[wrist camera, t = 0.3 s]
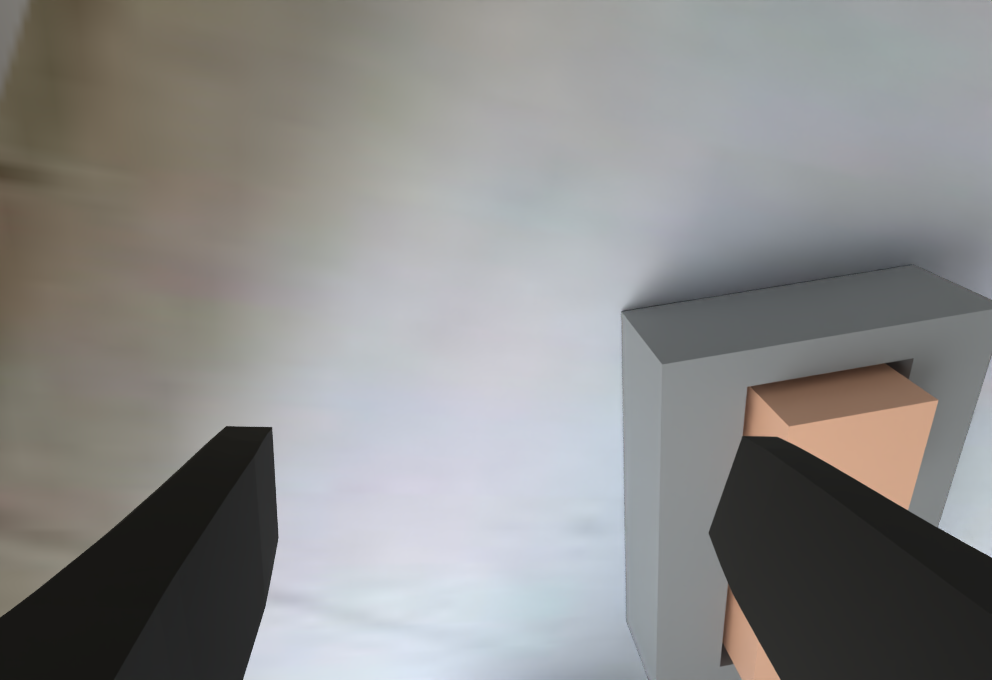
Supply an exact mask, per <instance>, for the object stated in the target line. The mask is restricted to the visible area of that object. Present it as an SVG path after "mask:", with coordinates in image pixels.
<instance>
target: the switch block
mask: <svg viewBox="0 0 992 680" xmlns="http://www.w3.org/2000/svg"><path fill="white" fill-rule="evenodd" d="M621 320H622V382H623V443H624V505H625V567H626V621H627V624H628V626H629V629H630V632H631V634H632V637H633V640H634V642H635V645H636V648H637V651H638V653H639V656H640V659H641V661H642V664H643V667H644V669H645V672H646V675H647V677H648V680H742V679H741V677H740V675H739V673H738V671H737V669H736V667H735V665H734V664H733V662H732V660H731V658H730V656H729V654H728V652H727V650H726V648H725V646H724V644H723V642H722V640H723V630H724V620H725V609H726V599H727V589H728V582H727V579H726V577H725V575H724V572H723V570H722V568H721V565H720V563H719V560H718V557H717V555H716V552H715V549H714V547H713V544H712V541H711V539H710V536H709V530H710V527H711V524H712V521H713V518H714V515H715V513H716V510H717V507H718V504H719V501H720V498H721V496H722V493H723V490H724V487H725V484H726V481H727V479H728V476H729V473H730V470H731V467H732V464H733V462H734V459H735V456H736V453H737V450H738V447H739V444H740V442H741V439H742V436H743V426H744V416H745V405H746V395H747V387H749V386H755V385H761V384H766V383H772V382H778V381H784V380H790V379H796V378H801V377H807V376H813V375H819V374H825V373H831V372H836V371H842V370H848V369H854V368H860V367H865V366H871V365H877V364H883V363H885V364H887V365H888V366H890V367H891V368H893V369H894V370H895V371H897V372H898V373H900V374H901V375H903V376H904V377H906V378H907V379H909V380H910V381H911V382H913V383H914V384H916V385H917V386H919V387H920V388H922V389H923V390H925V391H926V392H927V393H929V394H930V395H932V396H933V397H935V398H936V399H938V404H937V408H936V411H935V415H934V419H933V422H932V426H931V429H930V433H929V437H928V440H927V444H926V447H925V451H924V455H923V458H922V462H921V466H920V469H919V473H918V476H917V480H916V484H915V487H914V491H913V494H912V498H911V502H910V505H909V509H908V511H910V512H912V513H913V514H915V515H917V516H918V517H920V518H922V519H924V520H925V521H927V522H929V523H930V524H932V525H934V526H936V527H937V528H938V525H939V522H940V519H941V515H942V512H943V509H944V506H945V503H946V499H947V496H948V493H949V490H950V487H951V483H952V480H953V477H954V474H955V471H956V467H957V464H958V461H959V458H960V455H961V451H962V448H963V445H964V442H965V439H966V435H967V432H968V429H969V426H970V423H971V419H972V416H973V413H974V410H975V407H976V403H977V400H978V397H979V394H980V391H981V387H982V384H983V381H984V378H985V375H986V371H987V368H988V365H989V362H990V359H991V355H992V300H990V299H988V298H986V297H984V296H982V295H979V294H977V293H975V292H973V291H971V290H968V289H966V288H964V287H962V286H960V285H957V284H955V283H953V282H951V281H949V280H946V279H944V278H942V277H940V276H938V275H935V274H933V273H931V272H929V271H927V270H924V269H922V268H920V267H918V266H916V265H908V266H902V267H896V268H890V269H884V270H877V271H871V272H865V273H859V274H852V275H846V276H840V277H834V278H828V279H821V280H815V281H809V282H803V283H796V284H790V285H784V286H778V287H772V288H765V289H759V290H753V291H747V292H740V293H734V294H728V295H722V296H716V297H709V298H703V299H697V300H691V301H684V302H678V303H672V304H666V305H660V306H653V307H647V308H641V309H635V310H628V311H622V312H621Z"/></svg>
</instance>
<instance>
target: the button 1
mask: <svg viewBox="0 0 992 680" xmlns="http://www.w3.org/2000/svg"><path fill="white" fill-rule="evenodd" d="M722 642H723V644H724V646H725V648H726V650H727V652H728V654H729V656H730V658H731V660H732V662H733V664H734V665H735V667H736V669H737V671H738V673H739V675H740V677H741V679H742V680H780V678H779V676H778V674H777V673H776V671H775V669H774V667H773V666H772V664H771V662H770V660H769V658H768V657H767V655H766V653H765V651H764V650H763V648H762V646H761V644H760V643H759V641H758V639H757V637H756V635H755V634H754V632H753V630H752V628H751V626H750V625H749V623H748V621H747V619H746V617H745V616H744V614H743V612H742V610H741V608H740V606H739V605H738V603H737V601H736V599H735V597H734V595H733V593H732V591H731V589H730V587H729V584H728V589H727V599H726V609H725V620H724V630H723V640H722Z"/></svg>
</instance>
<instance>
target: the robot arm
mask: <svg viewBox="0 0 992 680" xmlns="http://www.w3.org/2000/svg"><path fill="white" fill-rule="evenodd" d="M709 536H710V539H711V541H712V544H713V547H714V549H715V552H716V555H717V557H718V560H719V563H720V565H721V568H722V570H723V572H724V575H725V577H726V579H727V582H728V584H729V587H730V589H731V591H732V593H733V595H734V597H735V599H736V601H737V603H738V605H739V606H740V608H741V610H742V612H743V614H744V616H745V617H746V619H747V621H748V623H749V625H750V626H751V628H752V630H753V632H754V634H755V635H756V637H757V639H758V641H759V643H760V644H761V646H762V648H763V650H764V651H765V653H766V655H767V657H768V658H769V660H770V662H771V664H772V666H773V667H774V669H775V671H776V673H777V674H778V676H779V678H780V680H992V558H991V557H989V556H988V555H986V554H984V553H982V552H980V551H978V550H977V549H975V548H973V547H971V546H969V545H967V544H966V543H964V542H962V541H960V540H959V539H957V538H955V537H953V536H951V535H950V534H948V533H946V532H944V531H943V530H941V529H939V528H937V527H936V526H934V525H932V524H930V523H929V522H927V521H925V520H924V519H922V518H920V517H918V516H917V515H915V514H913V513H912V512H910V511H908V510H906V509H905V508H903V507H901V506H900V505H898V504H896V503H895V502H893V501H891V500H889V499H888V498H886V497H884V496H883V495H881V494H879V493H878V492H876V491H874V490H873V489H871V488H869V487H868V486H866V485H864V484H862V483H861V482H859V481H857V480H856V479H854V478H852V477H851V476H849V475H847V474H846V473H844V472H842V471H840V470H839V469H837V468H835V467H834V466H832V465H830V464H828V463H827V462H825V461H823V460H821V459H820V458H818V457H816V456H814V455H812V454H811V453H809V452H807V451H805V450H803V449H801V448H799V447H797V446H796V445H794V444H792V443H790V442H787V441H785V440H783V439H781V438H779V437H769V436H742V439H741V442H740V444H739V447H738V450H737V453H736V456H735V459H734V462H733V464H732V467H731V470H730V473H729V476H728V479H727V481H726V484H725V487H724V490H723V493H722V496H721V498H720V501H719V504H718V507H717V510H716V513H715V515H714V518H713V521H712V524H711V527H710V530H709ZM277 543H278V522H277V504H276V487H275V469H274V452H273V434H272V427H234V426H226V427H225V428H224V429H223V430H221V431H220V432H219V433H218V434H217V435H216V436H215V437H213V438H212V439H211V440H210V441H209V442H208V443H207V444H206V445H205V446H204V447H202V448H201V449H200V450H199V451H198V452H197V453H196V454H195V455H194V456H193V457H192V458H191V459H190V460H188V461H187V462H186V463H185V464H184V465H183V466H182V467H181V468H180V469H179V470H178V471H177V472H176V473H174V474H173V475H172V476H171V477H170V478H169V479H168V480H167V481H166V482H165V483H164V484H162V485H161V486H160V487H159V488H158V489H157V490H156V491H155V492H154V493H152V494H151V495H150V496H149V497H148V498H147V499H146V500H145V501H143V502H142V503H141V504H140V505H139V506H138V507H137V508H135V509H134V510H133V511H132V512H131V513H130V514H129V515H127V516H126V517H125V518H124V519H123V520H122V521H121V522H119V523H118V524H117V525H116V526H115V527H114V528H113V529H111V530H110V531H109V532H108V533H107V534H106V535H104V536H103V537H102V538H101V539H100V540H98V541H97V542H96V543H95V544H94V545H92V546H91V547H90V548H89V549H87V550H86V551H85V552H84V553H82V554H81V555H80V556H79V557H77V558H76V559H75V560H74V561H72V562H71V563H70V564H69V565H67V566H66V567H65V568H64V569H62V570H61V571H60V572H59V573H58V574H56V575H55V576H54V577H53V578H51V579H50V580H49V581H48V582H46V583H45V584H44V585H43V586H41V587H40V588H39V589H38V590H36V591H35V592H34V593H32V594H31V595H30V596H29V597H27V598H26V599H25V600H23V601H22V602H21V603H19V604H18V605H17V606H15V607H14V608H13V609H11V610H10V611H9V612H7V613H6V614H5V615H3V616H2V617H0V680H243V678H244V674H245V671H246V668H247V665H248V661H249V658H250V655H251V652H252V649H253V645H254V642H255V639H256V636H257V632H258V629H259V626H260V622H261V619H262V616H263V612H264V609H265V606H266V601H267V596H268V591H269V586H270V580H271V575H272V570H273V564H274V559H275V554H276V548H277Z"/></svg>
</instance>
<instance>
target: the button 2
mask: <svg viewBox="0 0 992 680" xmlns="http://www.w3.org/2000/svg"><path fill="white" fill-rule="evenodd" d="M937 404H938V399H936V398H935V397H933V396H932V395H930V394H929V393H927V392H926V391H925V390H923V389H922V388H920V387H919V386H917V385H916V384H914V383H913V382H911V381H910V380H909V379H907V378H906V377H904V376H903V375H901V374H900V373H898V372H897V371H895V370H894V369H893V368H891V367H890V366H888V365H887V364H885V363H883V364H877V365H871V366H865V367H860V368H854V369H848V370H842V371H836V372H831V373H825V374H819V375H813V376H807V377H801V378H796V379H790V380H784V381H778V382H772V383H766V384H761V385H755V386H749V387H747V395H746V405H745V416H744V426H743V436H769V437H779V438H781V439H783V440H785V441H787V442H790V443H792V444H794V445H796V446H797V447H799V448H801V449H803V450H805V451H807V452H809V453H811V454H812V455H814V456H816V457H818V458H820V459H821V460H823V461H825V462H827V463H828V464H830V465H832V466H834V467H835V468H837V469H839V470H840V471H842V472H844V473H846V474H847V475H849V476H851V477H852V478H854V479H856V480H857V481H859V482H861V483H862V484H864V485H866V486H868V487H869V488H871V489H873V490H874V491H876V492H878V493H879V494H881V495H883V496H884V497H886V498H888V499H889V500H891V501H893V502H895V503H896V504H898V505H900V506H901V507H903V508H905V509H906V510H908V509H909V505H910V502H911V498H912V494H913V491H914V487H915V484H916V480H917V476H918V473H919V469H920V466H921V462H922V458H923V455H924V451H925V447H926V444H927V440H928V437H929V433H930V429H931V426H932V422H933V419H934V415H935V411H936V408H937Z"/></svg>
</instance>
